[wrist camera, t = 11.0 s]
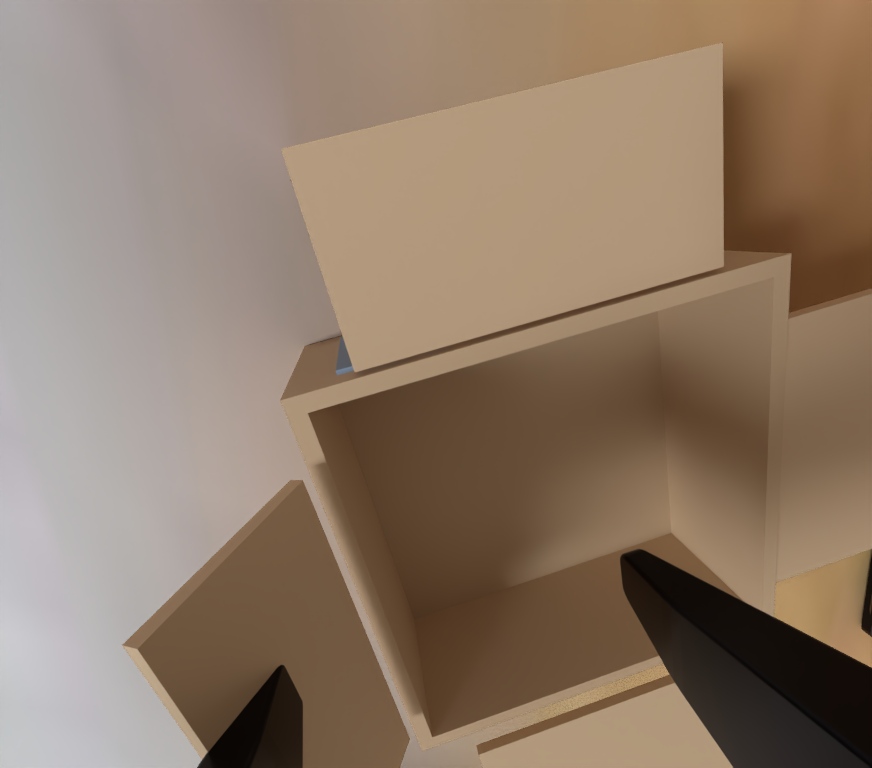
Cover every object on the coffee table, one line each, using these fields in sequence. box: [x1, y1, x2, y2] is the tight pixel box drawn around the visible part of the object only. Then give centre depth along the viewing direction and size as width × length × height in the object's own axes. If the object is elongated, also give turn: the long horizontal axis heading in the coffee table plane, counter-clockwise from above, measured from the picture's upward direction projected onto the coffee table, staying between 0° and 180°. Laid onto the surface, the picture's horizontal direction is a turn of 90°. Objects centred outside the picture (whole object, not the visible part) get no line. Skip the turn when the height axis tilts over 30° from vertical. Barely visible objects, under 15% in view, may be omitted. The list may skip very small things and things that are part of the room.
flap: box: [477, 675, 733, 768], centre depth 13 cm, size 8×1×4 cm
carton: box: [280, 42, 872, 751], centre depth 12 cm, size 15×15×4 cm
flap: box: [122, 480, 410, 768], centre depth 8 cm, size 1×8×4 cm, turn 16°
